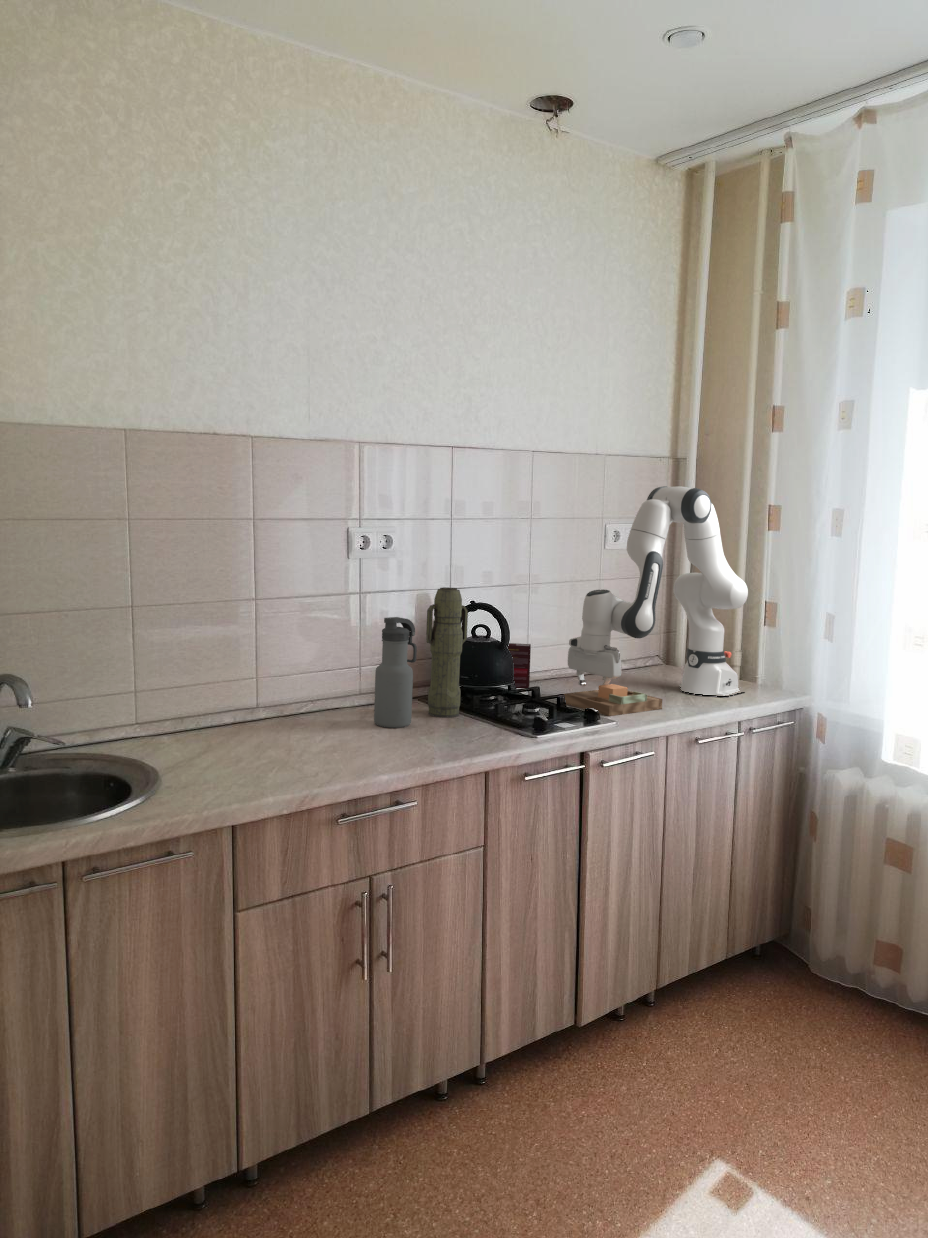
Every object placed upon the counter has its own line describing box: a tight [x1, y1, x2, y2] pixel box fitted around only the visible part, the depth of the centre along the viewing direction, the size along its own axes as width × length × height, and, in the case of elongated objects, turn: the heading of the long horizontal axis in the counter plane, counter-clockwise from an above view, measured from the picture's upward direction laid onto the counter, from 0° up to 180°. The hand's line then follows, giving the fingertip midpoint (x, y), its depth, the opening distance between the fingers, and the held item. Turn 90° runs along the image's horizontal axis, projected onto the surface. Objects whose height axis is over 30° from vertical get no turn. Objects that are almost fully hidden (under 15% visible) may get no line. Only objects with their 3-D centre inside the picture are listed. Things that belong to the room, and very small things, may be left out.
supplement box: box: [508, 642, 532, 689], centre depth 287 cm, size 9×5×16 cm, turn 84°
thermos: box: [425, 586, 469, 719], centre depth 254 cm, size 9×12×35 cm
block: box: [597, 683, 629, 699], centre depth 274 cm, size 6×6×3 cm
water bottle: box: [373, 616, 418, 729], centre depth 240 cm, size 10×10×28 cm
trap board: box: [563, 689, 663, 717], centre depth 276 cm, size 22×19×5 cm
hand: (592, 688), depth 281 cm, fingers open, 8 cm apart
